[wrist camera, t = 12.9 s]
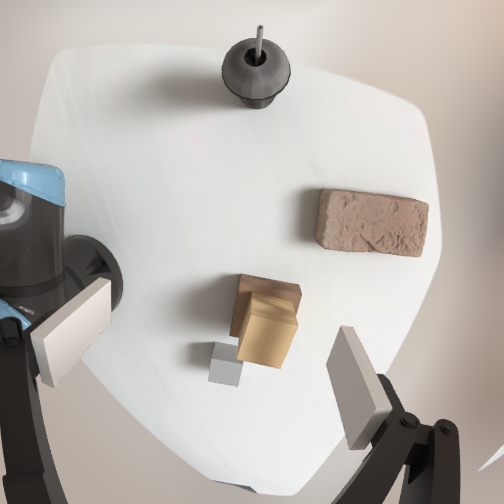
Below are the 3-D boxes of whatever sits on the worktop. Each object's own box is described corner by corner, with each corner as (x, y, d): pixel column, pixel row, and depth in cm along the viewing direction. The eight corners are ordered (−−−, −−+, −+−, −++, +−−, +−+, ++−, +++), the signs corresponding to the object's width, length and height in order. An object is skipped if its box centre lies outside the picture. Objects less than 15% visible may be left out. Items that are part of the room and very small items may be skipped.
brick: (313, 242, 44) (319, 251, 40) (319, 186, 42) (326, 189, 37) (410, 249, 44) (423, 258, 39) (417, 199, 42) (432, 203, 37)
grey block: (212, 363, 51) (208, 381, 46) (215, 341, 49) (211, 358, 44) (240, 368, 51) (238, 386, 46) (244, 346, 49) (242, 364, 44)
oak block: (239, 331, 44) (236, 359, 37) (252, 291, 42) (251, 314, 36) (277, 340, 44) (280, 368, 38) (292, 301, 43) (298, 326, 36)
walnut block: (231, 323, 48) (229, 335, 45) (241, 272, 46) (239, 282, 42) (285, 332, 49) (286, 345, 45) (298, 283, 46) (301, 294, 42)
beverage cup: (223, 106, 39) (192, 59, 19) (245, 64, 37) (232, -6, 18) (270, 126, 39) (277, 91, 20) (291, 84, 37) (314, 23, 18)
